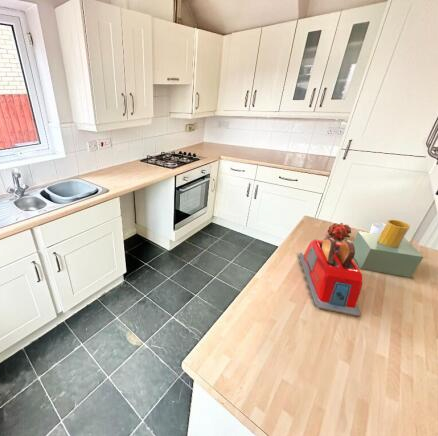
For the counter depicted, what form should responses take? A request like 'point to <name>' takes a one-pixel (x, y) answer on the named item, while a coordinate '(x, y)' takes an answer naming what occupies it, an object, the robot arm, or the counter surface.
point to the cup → (393, 233)
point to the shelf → (385, 255)
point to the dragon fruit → (339, 231)
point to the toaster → (333, 275)
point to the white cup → (377, 228)
